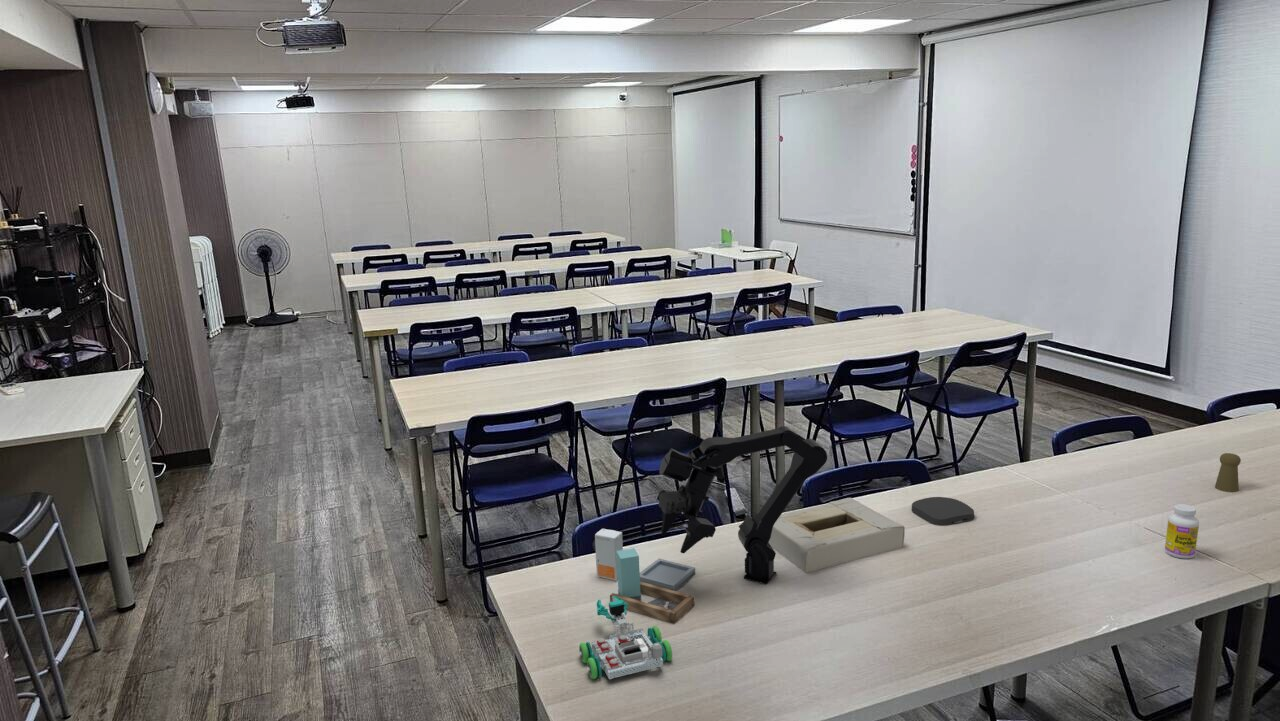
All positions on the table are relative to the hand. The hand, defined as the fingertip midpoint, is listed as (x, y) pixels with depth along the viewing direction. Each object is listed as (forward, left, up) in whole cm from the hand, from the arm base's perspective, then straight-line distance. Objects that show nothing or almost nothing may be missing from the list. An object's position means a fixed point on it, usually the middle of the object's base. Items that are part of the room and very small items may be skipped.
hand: (672, 543), depth 208 cm
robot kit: (-4, +30, -12) cm, 33 cm away
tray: (+4, -2, -11) cm, 12 cm away
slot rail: (0, +11, -11) cm, 16 cm away
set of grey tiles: (-4, +11, -11) cm, 16 cm away
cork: (-117, -135, -12) cm, 179 cm away
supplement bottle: (-106, -78, -12) cm, 132 cm away
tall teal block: (+6, +11, -12) cm, 17 cm away
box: (-25, -41, -12) cm, 50 cm away
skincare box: (+17, +3, -12) cm, 21 cm away
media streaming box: (-47, -76, -12) cm, 90 cm away
